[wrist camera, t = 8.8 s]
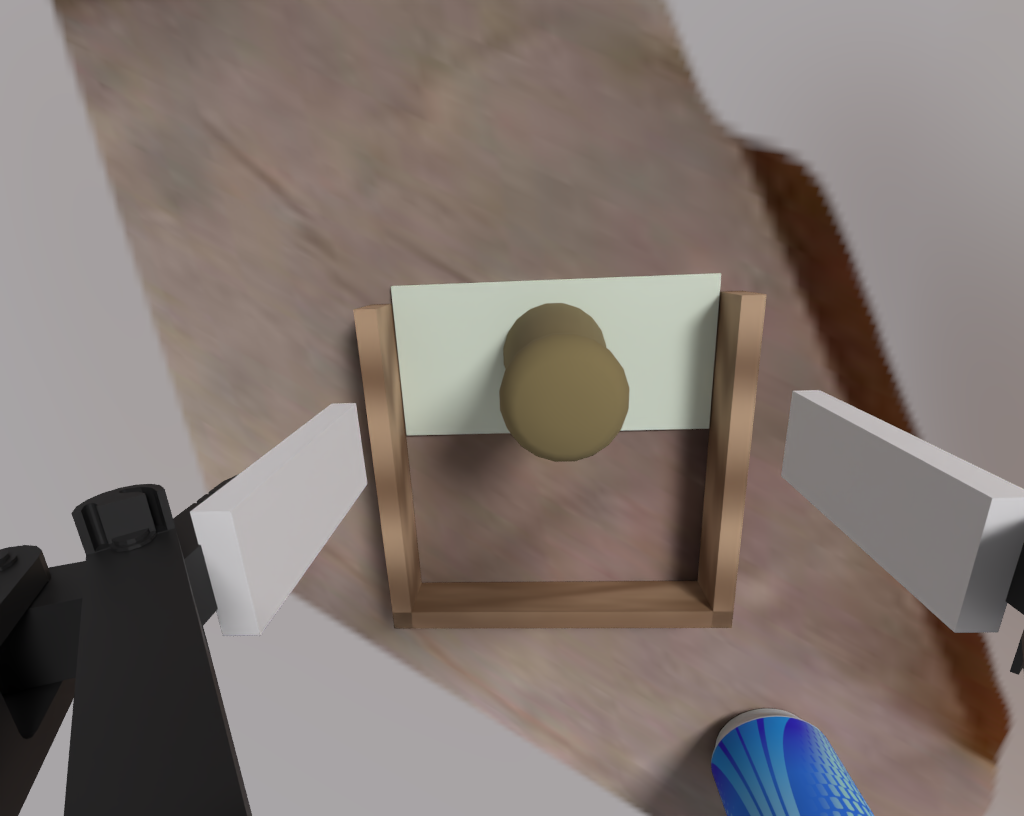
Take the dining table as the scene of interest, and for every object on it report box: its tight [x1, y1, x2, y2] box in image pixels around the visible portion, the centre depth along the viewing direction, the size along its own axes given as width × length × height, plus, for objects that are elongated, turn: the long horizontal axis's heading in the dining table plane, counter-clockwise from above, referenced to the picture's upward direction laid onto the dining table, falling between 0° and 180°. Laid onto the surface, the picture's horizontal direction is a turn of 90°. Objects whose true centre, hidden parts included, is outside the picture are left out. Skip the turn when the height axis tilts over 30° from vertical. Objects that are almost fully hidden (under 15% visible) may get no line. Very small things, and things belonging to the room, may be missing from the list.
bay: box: [353, 291, 767, 628], centre depth 29 cm, size 20×21×3 cm
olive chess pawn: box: [499, 303, 629, 462], centre depth 24 cm, size 6×6×11 cm
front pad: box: [391, 273, 721, 435], centre depth 29 cm, size 9×18×1 cm, turn 92°
